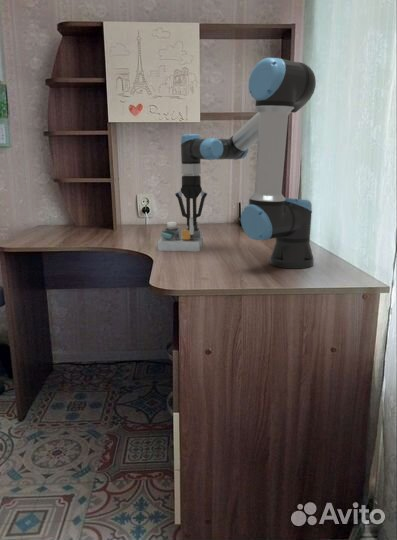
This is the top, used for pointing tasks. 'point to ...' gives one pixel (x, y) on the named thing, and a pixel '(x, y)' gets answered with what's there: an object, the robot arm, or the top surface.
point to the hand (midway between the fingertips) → (191, 233)
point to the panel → (180, 241)
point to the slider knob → (186, 234)
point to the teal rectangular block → (166, 235)
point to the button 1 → (172, 225)
